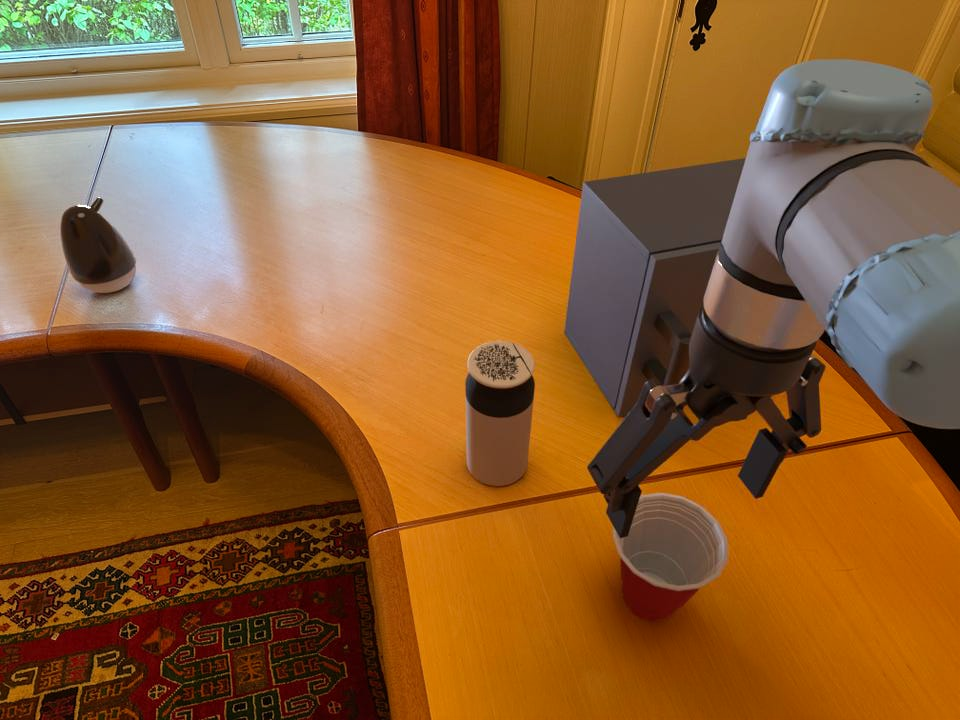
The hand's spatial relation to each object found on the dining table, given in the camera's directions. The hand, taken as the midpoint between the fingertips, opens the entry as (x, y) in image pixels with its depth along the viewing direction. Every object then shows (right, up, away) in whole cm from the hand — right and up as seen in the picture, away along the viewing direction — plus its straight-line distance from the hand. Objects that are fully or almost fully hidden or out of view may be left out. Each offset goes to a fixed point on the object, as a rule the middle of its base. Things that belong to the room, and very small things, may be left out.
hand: (685, 505), depth 54 cm
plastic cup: (0, -13, +12) cm, 17 cm away
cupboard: (+11, +14, +41) cm, 45 cm away
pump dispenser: (-84, +27, +54) cm, 103 cm away
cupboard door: (+14, +6, +32) cm, 35 cm away
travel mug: (-16, -1, +25) cm, 30 cm away
